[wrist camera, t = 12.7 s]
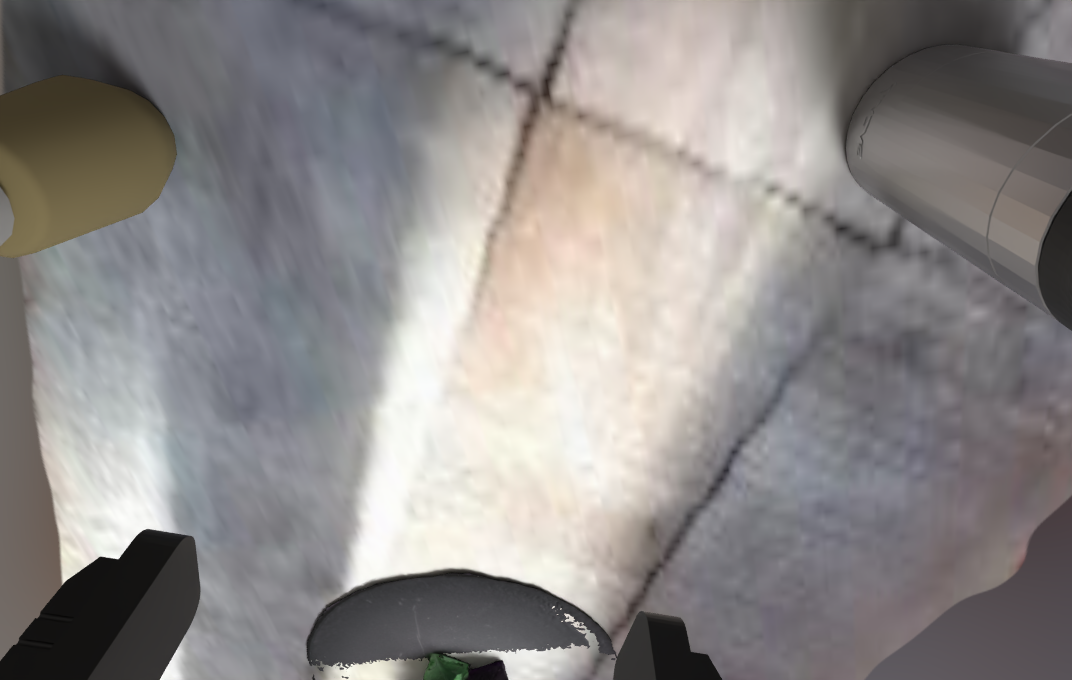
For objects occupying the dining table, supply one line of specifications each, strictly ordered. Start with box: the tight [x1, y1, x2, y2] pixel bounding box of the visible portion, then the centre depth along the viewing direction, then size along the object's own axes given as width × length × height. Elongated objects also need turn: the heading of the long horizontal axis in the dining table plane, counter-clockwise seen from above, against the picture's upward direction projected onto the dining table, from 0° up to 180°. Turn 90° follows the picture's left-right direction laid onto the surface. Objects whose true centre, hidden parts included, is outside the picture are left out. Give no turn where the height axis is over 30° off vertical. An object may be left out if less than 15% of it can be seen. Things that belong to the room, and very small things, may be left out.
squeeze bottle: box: [0, 75, 177, 258], centre depth 30 cm, size 8×8×18 cm
